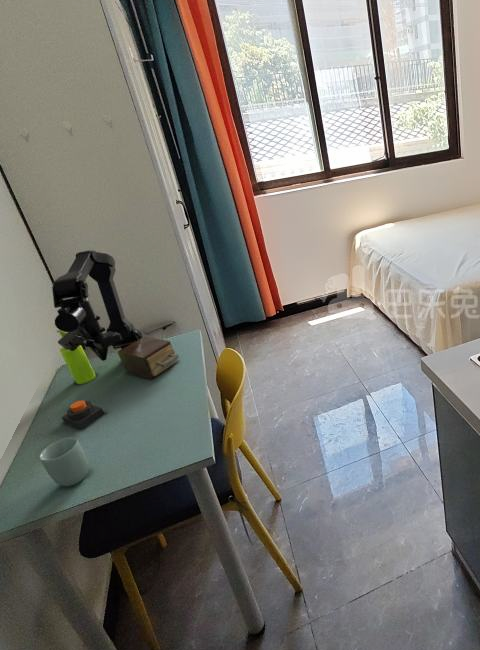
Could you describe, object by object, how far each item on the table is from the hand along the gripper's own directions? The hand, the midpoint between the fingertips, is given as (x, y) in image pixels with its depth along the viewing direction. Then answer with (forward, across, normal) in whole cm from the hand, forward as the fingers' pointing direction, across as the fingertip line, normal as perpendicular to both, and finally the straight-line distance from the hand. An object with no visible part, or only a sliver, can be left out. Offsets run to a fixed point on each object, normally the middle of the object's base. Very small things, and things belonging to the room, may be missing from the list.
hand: (104, 360), depth 140 cm
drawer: (+11, +3, +13) cm, 18 cm away
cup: (+12, +26, -29) cm, 41 cm away
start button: (+8, +3, -13) cm, 16 cm away
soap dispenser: (+12, -19, +1) cm, 23 cm away
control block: (+12, +3, -13) cm, 18 cm away
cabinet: (+12, -1, +14) cm, 18 cm away
